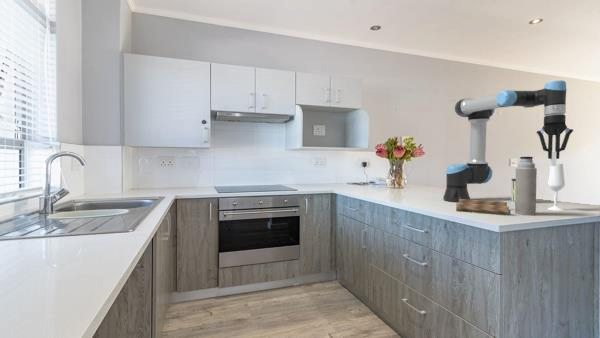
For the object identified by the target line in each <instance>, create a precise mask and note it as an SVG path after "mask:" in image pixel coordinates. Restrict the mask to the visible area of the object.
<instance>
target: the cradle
mask: <svg viewBox="0 0 600 338" xmlns="http://www.w3.org/2000/svg"><path fill="white" fill-rule="evenodd" d="M455 203H456V205H455V206H456V208H455V209H456V210H455V211H456V212H461V213H462V212H463V213H464V212H465V213H474V214H475V213H476V214H487V215H499V216H509V215H510V213H509V209H510V207H509V205H508V202H507V201H498V200H497V201H494V200H482V199H481V200H480V199H479V200H478V199H470V200H466V199H459V202H455Z"/></svg>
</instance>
